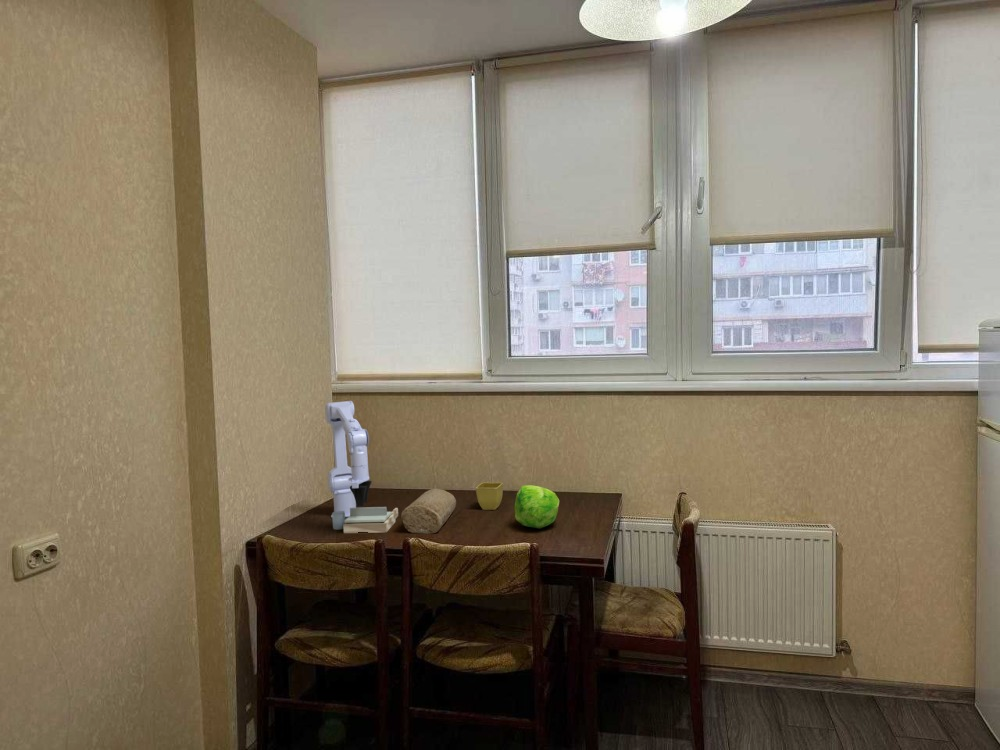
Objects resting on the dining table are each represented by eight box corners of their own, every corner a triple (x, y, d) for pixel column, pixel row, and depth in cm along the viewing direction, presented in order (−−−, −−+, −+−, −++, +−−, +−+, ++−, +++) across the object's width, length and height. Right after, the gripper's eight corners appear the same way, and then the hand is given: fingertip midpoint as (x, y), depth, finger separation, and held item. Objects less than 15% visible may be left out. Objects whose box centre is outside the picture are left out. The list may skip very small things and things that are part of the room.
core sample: (457, 513, 247) (455, 487, 247) (441, 535, 221) (439, 505, 221) (420, 513, 249) (419, 487, 249) (401, 535, 223) (399, 506, 222)
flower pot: (476, 511, 248) (474, 487, 248) (482, 505, 256) (481, 482, 256) (498, 511, 246) (497, 487, 245) (504, 505, 254) (503, 482, 254)
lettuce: (554, 516, 236) (562, 481, 233) (552, 543, 216) (560, 505, 213) (514, 508, 237) (521, 473, 234) (508, 533, 217) (516, 495, 214)
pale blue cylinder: (335, 526, 238) (334, 511, 237) (347, 525, 237) (346, 510, 237) (331, 529, 233) (330, 514, 233) (343, 529, 233) (342, 514, 233)
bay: (361, 516, 248) (361, 508, 248) (400, 515, 247) (400, 507, 247) (343, 533, 228) (343, 524, 228) (386, 532, 227) (385, 523, 226)
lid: (353, 514, 239) (353, 504, 239) (391, 513, 238) (390, 503, 238) (344, 522, 229) (343, 512, 229) (383, 521, 228) (383, 511, 228)
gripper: (353, 461, 234) (356, 499, 235) (341, 470, 219) (344, 510, 220) (373, 460, 233) (375, 498, 234) (362, 469, 219) (365, 509, 220)
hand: (362, 504), depth 227 cm, fingers open, 4 cm apart
